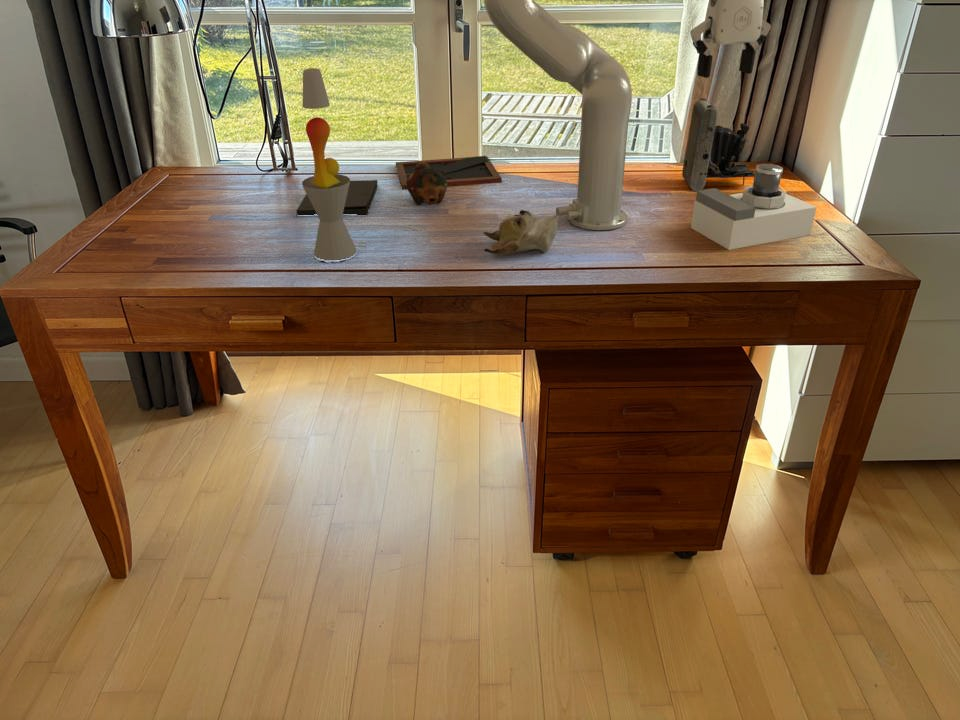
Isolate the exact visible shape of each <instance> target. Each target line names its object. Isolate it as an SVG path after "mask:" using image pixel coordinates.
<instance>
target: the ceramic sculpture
mask: <svg viewBox="0 0 960 720" xmlns="http://www.w3.org/2000/svg"><path fill="white" fill-rule="evenodd" d="M558 223H559V216H558V215H557V214H555V215H552V216H546V217H544V218H543V217H542V218H537V217H536V216H535V215H534V213H532V212H530V211H529V210H524V209H520V211H519V213H518V214H514V215H508V216H506V217H504V219H503V220H502V221H501V222H500V224H499V227H498V230H495V231H492V232H490V231H483V235H485V236H486V237H488V238H489V239H491V240H494V241H495V242H493V243H492V244H491V245H490V246H489V247H488V246H487V247H486V248H483V251H484V252H486V253H490V254H493V255H496V256H497V255H498V256H505V255H509V254H511V253H522V252H526V251H529V250H534V249H538V250H540V251H541V252H542V253H547V252H548V251H549V250H550V248H551V247H552V244H553V242H554V239H555V237H557V230H558Z"/></svg>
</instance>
